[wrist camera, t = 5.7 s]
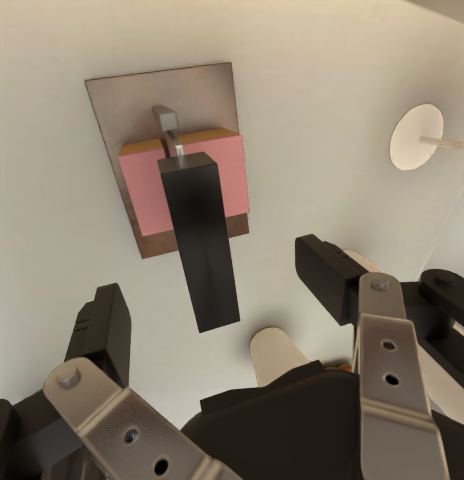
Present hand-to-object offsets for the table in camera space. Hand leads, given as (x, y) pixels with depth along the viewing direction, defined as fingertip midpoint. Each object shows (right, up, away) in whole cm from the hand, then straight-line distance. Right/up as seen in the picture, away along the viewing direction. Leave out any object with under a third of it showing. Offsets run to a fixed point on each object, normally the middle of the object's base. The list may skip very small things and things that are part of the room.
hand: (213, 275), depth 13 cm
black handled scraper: (-3, +5, +10) cm, 12 cm away
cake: (-4, +9, +17) cm, 19 cm away
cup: (+6, -15, +34) cm, 38 cm away
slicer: (-5, +9, +18) cm, 21 cm away
